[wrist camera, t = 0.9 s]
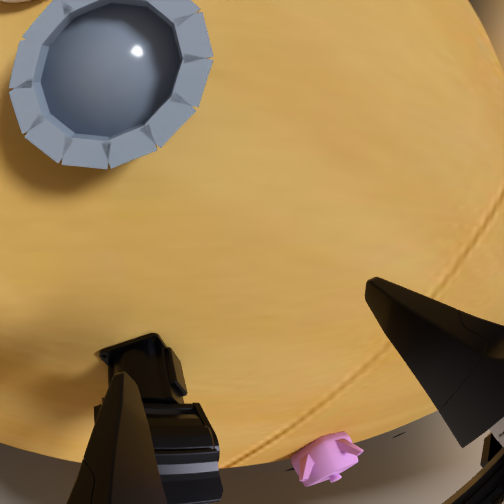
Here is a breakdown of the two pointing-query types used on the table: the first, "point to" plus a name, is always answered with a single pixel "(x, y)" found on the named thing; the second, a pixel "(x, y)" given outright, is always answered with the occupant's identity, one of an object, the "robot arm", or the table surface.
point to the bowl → (109, 78)
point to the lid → (14, 1)
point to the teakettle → (325, 458)
